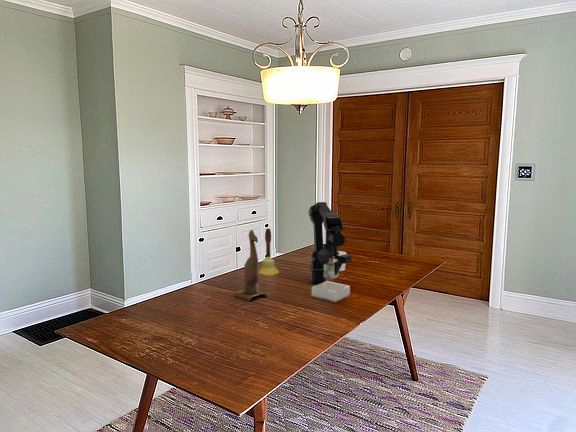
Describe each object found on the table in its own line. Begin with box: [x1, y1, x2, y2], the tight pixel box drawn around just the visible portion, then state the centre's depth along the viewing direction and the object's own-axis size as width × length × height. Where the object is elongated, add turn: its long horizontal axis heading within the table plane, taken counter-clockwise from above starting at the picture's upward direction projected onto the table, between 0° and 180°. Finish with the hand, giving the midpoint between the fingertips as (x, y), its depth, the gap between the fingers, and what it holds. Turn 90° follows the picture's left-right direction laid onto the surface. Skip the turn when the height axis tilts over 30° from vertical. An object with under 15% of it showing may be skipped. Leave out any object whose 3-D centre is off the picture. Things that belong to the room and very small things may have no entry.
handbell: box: [259, 228, 280, 276], centre depth 242 cm, size 12×12×25 cm
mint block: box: [324, 261, 340, 280], centre depth 203 cm, size 5×5×6 cm
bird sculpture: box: [234, 229, 269, 303], centre depth 201 cm, size 11×12×32 cm
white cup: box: [332, 250, 347, 272], centre depth 249 cm, size 8×8×10 cm
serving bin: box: [311, 280, 351, 303], centre depth 204 cm, size 13×13×4 cm
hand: (331, 274), depth 203 cm, fingers closed on mint block, 5 cm apart
